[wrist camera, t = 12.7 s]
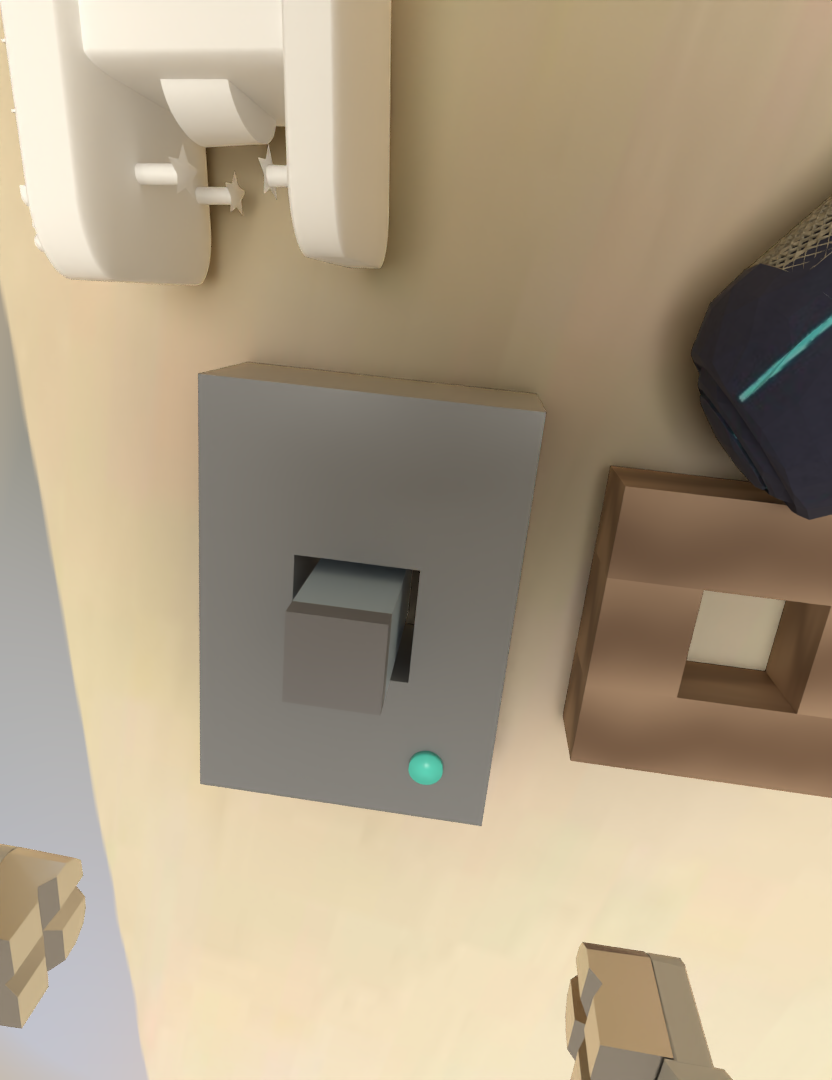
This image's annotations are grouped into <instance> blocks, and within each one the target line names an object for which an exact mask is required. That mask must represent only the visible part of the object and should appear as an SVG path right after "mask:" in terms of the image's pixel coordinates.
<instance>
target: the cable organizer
mask: <svg viewBox="0 0 832 1080" xmlns="http://www.w3.org/2000/svg"><path fill="white" fill-rule="evenodd" d="M0 7H1V14H2V21H3V28H4V35H5V39H1V40H2V42H3V43H5V44H6V50H7V57H8V64H9V71H10V78H11V86H12V93H13V100H14V107H15V109H11V111H12V112H13V113H15V114H16V121H17V129H18V136H19V143H20V150H21V157H22V164H23V172H24V179H25V185H20V192H21V197H22V200H23V202H24V203H25V204H26V205H27V206H28V207H29V209H30V213H31V217H32V221H33V222H32V225H33V227H34V228H35V231H36V236H35V244H36V246H37V248H38V249H39V250H40V251H42V252H44V253H45V254H46V256H47V258H48V260H49V261H50V263H51V264H52V265H53V267H54V268H55V269H56V270H57V271H58V272H59V273H60V274H61V275H63V276H64V277H66V278H68V279H73V280H91V281H108V282H126V283H144V284H162V285H200V284H202V283H203V281H204V280H205V278H206V275H207V273H208V269H209V264H210V256H211V223H210V208H209V205H231V212H232V211H233V210H234V209H235V208H236V207H237V208H238V210H239V211H240V213H241V214H242V216H243V211H242V203H241V200H242V198H243V196H244V194H245V191H244V190H243V189H241V188H240V187H239V186H238V182H237V178H236V173H235V171H234V176H233V182H232V183H226V182H225V184H226V186H227V187H208V177H207V161H206V147H222V146H240V145H258V144H268V149H267V155H266V159H263V158H260V157H258V159H259V162H260V165H261V167H262V170H263V173H264V194H265V193H266V192H267V191H268V190H269V189H271V191H272V193H273V194H274V196H275V198H276V200H277V195H276V187H288V196H289V204H290V212H291V218H292V223H293V228H294V232H295V236H296V240H297V243H298V245H299V248H300V250H301V252H302V253H303V255H305V256H306V257H308V258H312V259H316V260H320V261H324V262H328V263H332V264H336V265H340V266H344V267H348V268H377V269H379V268H381V267H382V265H383V262H384V259H385V255H386V248H387V241H388V228H389V169H390V76H391V0H0ZM276 126H285V130H286V162H287V165H274V164H273V163H272V158H271V153H270V148H269V143H270V142H271V140H272V139H273V137H274V134H275V129H276Z"/></svg>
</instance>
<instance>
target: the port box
mask: <svg viewBox="0 0 832 1080" xmlns="http://www.w3.org/2000/svg"><path fill="white" fill-rule="evenodd" d="M545 417H546V411H545V409H544V407H543V405H542V403H541V401H540V399H539V397H538V395H537V394H534V393H525V392H516V391H507V390H498V389H488V388H479V387H470V386H461V385H452V384H443V383H434V382H425V381H416V380H407V379H397V378H388V377H379V376H370V375H361V374H352V373H343V372H334V371H325V370H315V369H306V368H297V367H288V366H279V365H270V364H261V363H252V362H245V363H241V364H236V365H232V366H228V367H224V368H220V369H216V370H211V371H207V372H203V373H199V374H198V427H199V617H200V784H205V785H211V786H218V787H225V788H231V789H238V790H245V791H251V792H258V793H265V794H271V795H278V796H285V797H291V798H298V799H305V800H311V801H318V802H325V803H331V804H338V805H345V806H351V807H358V808H365V809H371V810H378V811H385V812H391V813H398V814H405V815H411V816H418V817H425V818H431V819H438V820H445V821H451V822H458V823H465V824H471V825H478V826H482V820H483V813H484V807H485V800H486V794H487V788H488V781H489V775H490V769H491V762H492V756H493V749H494V743H495V737H496V730H497V724H498V717H499V711H500V705H501V698H502V692H503V685H504V679H505V673H506V666H507V660H508V654H509V647H510V641H511V634H512V628H513V622H514V615H515V609H516V602H517V596H518V590H519V583H520V577H521V570H522V564H523V558H524V551H525V545H526V539H527V532H528V526H529V519H530V513H531V507H532V500H533V494H534V487H535V481H536V475H537V468H538V462H539V455H540V449H541V443H542V436H543V430H544V424H545ZM321 558H325V559H332V560H340V561H348V562H356V563H364V564H372V565H380V566H387V567H395V568H403V569H411V570H419V571H420V577H419V587H418V596H417V606H416V615H415V625H411V624H405V626H404V630H403V633H402V637H401V641H400V645H399V648H398V652H397V656H396V659H395V663H394V667H393V671H392V674H391V678H390V682H389V686H388V689H387V693H386V697H385V701H384V704H383V708H382V712H381V715H373V714H366V713H359V712H352V711H345V710H337V709H330V708H323V707H316V706H309V705H302V704H295V703H288V702H282V691H283V664H284V637H285V611H286V610H287V608H288V607H289V605H290V604H291V602H292V601H293V599H294V598H295V596H296V595H297V593H298V592H299V590H300V589H301V587H302V586H303V584H304V583H305V581H306V580H307V578H308V577H309V575H310V574H311V572H312V571H313V569H314V568H315V566H316V565H317V563H318V562H319V560H320V559H321Z"/></svg>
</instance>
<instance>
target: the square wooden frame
mask: <svg viewBox="0 0 832 1080" xmlns="http://www.w3.org/2000/svg"><path fill="white" fill-rule="evenodd" d="M704 590H707V591H715V592H723V593H731V594H739V595H747V596H755V597H763V598H771V599H779V600H786V603H785V606H784V610H783V613H782V616H781V620H780V623H779V627H778V630H777V634H776V637H775V640H774V644H773V647H772V651H771V654H770V657H769V661H768V664H767V668H766V671H759V670H751V669H743V668H736V667H728V666H721V665H713V664H706V663H698V662H691V661H686V659H687V655H688V651H689V647H690V643H691V639H692V635H693V631H694V627H695V623H696V619H697V615H698V611H699V607H700V603H701V599H702V595H703V591H704ZM563 720H564V725H565V731H566V737H567V743H568V748H569V754H570V760H571V761H577V762H584V763H591V764H598V765H605V766H612V767H619V768H626V769H633V770H640V771H647V772H654V773H661V774H668V775H675V776H682V777H689V778H696V779H703V780H710V781H717V782H724V783H731V784H738V785H745V786H752V787H759V788H766V789H773V790H780V791H787V792H794V793H801V794H808V795H815V796H822V797H829V798H832V515H828V516H824V517H820V518H816V519H812V520H808V519H806V518H803V517H801V516H799V515H797V514H795V513H794V512H792V511H791V510H790V509H789V507H788V506H787V505H786V504H785V502H784V501H782V500H779V499H777V498H775V497H773V496H771V495H769V494H768V493H767V492H766V491H765V490H761V489H759V488H757V487H755V486H754V485H753V484H752V483H751V482H746V481H738V480H729V479H720V478H712V477H703V476H694V475H686V474H677V473H668V472H660V471H651V470H642V469H634V468H625V467H616V466H610V471H609V477H608V482H607V487H606V492H605V498H604V503H603V508H602V513H601V518H600V524H599V529H598V534H597V539H596V545H595V550H594V555H593V560H592V566H591V571H590V576H589V581H588V586H587V592H586V597H585V602H584V607H583V613H582V618H581V623H580V628H579V634H578V639H577V644H576V649H575V654H574V660H573V665H572V670H571V675H570V681H569V686H568V691H567V696H566V702H565V707H564V712H563Z"/></svg>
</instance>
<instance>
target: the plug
mask: <svg viewBox="0 0 832 1080" xmlns="http://www.w3.org/2000/svg"><path fill="white" fill-rule="evenodd" d="M412 571H413V570H411V569H403V568H395V567H387V566H380V565H372V564H364V563H356V562H348V561H340V560H332V559H325V558H321V559H320V560H319V562H318V563H317V565H316V566H315V568H314V569H313V571H312V572H311V574H310V575H309V577H308V578H307V580H306V581H305V583H304V584H303V586H302V587H301V589H300V590H299V592H298V593H297V595H296V596H295V598H294V599H293V601H292V602H291V604H290V605H289V607H288V608H287V610H286V611H285V637H284V664H283V691H282V702H288V703H295V704H302V705H309V706H316V707H323V708H330V709H337V710H345V711H352V712H359V713H366V714H373V715H381V712H382V708H383V704H384V701H385V697H386V693H387V689H388V686H389V682H390V678H391V674H392V671H393V667H394V663H395V659H396V656H397V652H398V648H399V645H400V641H401V637H402V633H403V630H404V626H405V622H406V618H407V615H408V610H409V600H410V590H411V580H412Z"/></svg>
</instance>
